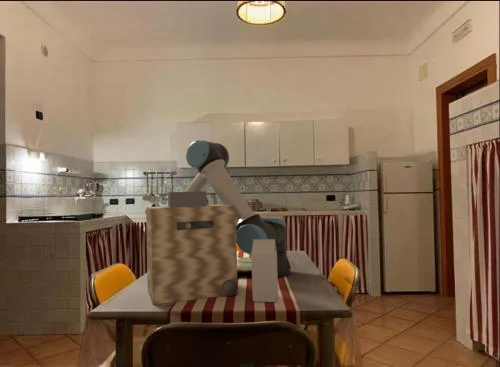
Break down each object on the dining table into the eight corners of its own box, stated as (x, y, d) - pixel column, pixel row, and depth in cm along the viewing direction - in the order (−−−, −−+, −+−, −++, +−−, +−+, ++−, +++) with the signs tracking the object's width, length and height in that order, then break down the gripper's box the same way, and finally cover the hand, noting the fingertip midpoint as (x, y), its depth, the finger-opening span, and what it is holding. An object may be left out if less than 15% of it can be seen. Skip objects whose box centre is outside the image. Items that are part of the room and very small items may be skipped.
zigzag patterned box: (222, 282, 142) (220, 204, 143) (239, 295, 123) (237, 205, 124) (147, 291, 132) (146, 207, 133) (153, 306, 113) (151, 208, 114)
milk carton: (275, 302, 113) (273, 240, 114) (252, 302, 115) (250, 240, 115) (278, 296, 120) (276, 238, 121) (256, 295, 122) (255, 238, 122)
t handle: (189, 204, 150) (188, 192, 150) (206, 206, 123) (206, 191, 123) (159, 206, 146) (158, 193, 146) (170, 207, 118) (169, 192, 119)
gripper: (198, 230, 163) (207, 207, 146) (139, 234, 154) (142, 210, 137) (196, 215, 167) (205, 191, 150) (138, 218, 158) (141, 193, 141)
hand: (175, 200), depth 144 cm, fingers open, 13 cm apart
